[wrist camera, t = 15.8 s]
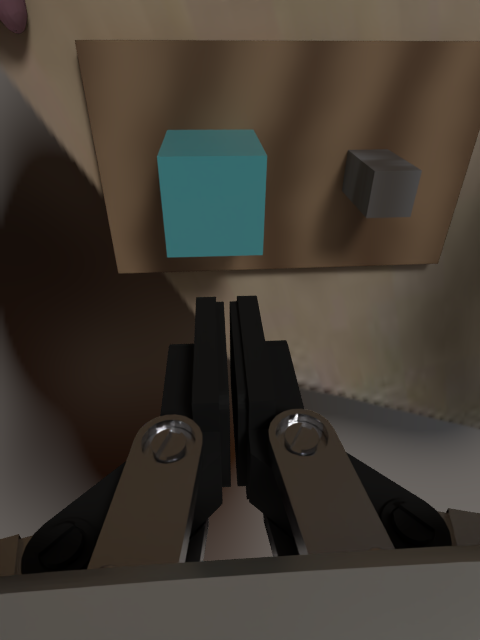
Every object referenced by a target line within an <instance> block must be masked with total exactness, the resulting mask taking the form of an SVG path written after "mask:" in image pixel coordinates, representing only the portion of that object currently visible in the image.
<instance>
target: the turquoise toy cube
mask: <svg viewBox="0 0 480 640" xmlns="http://www.w3.org/2000/svg"><path fill="white" fill-rule="evenodd" d="M157 162H158V172H159V182H160V191H161V201H162V211H163V221H164V230H165V240H166V250H167V257H207V256H247V255H263V240H264V217H265V194H266V171H267V154H266V152H265V151H264V149H263V147H262V145H261V143H260V141H259V139H258V137H257V135H256V133H255V132H254V130H167V132H166V134H165V137H164V140H163V142H162V145H161V147H160V150H159V153H158V155H157Z"/></svg>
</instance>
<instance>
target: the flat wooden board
mask: <svg viewBox="0 0 480 640" xmlns="http://www.w3.org/2000/svg"><path fill="white" fill-rule="evenodd" d="M75 44H76V49H77V54H78V60H79V65H80V70H81V76H82V81H83V87H84V92H85V97H86V103H87V108H88V113H89V119H90V124H91V129H92V135H93V140H94V145H95V151H96V156H97V161H98V167H99V172H100V177H101V183H102V188H103V193H104V199H105V204H106V209H107V214H108V220H109V225H110V230H111V236H112V241H113V247H114V252H115V257H116V263H117V268H118V273H150V272H182V271H214V270H246V269H278V268H310V267H343V266H375V265H407V264H438V262H439V259H440V255H441V252H442V249H443V246H444V242H445V239H446V236H447V233H448V230H449V226H450V223H451V220H452V217H453V213H454V210H455V207H456V204H457V201H458V197H459V194H460V191H461V188H462V184H463V181H464V178H465V175H466V172H467V168H468V165H469V162H470V159H471V155H472V152H473V149H474V146H475V142H476V139H477V136H478V133H479V130H480V41H196V40H75ZM167 130H254V132H255V133H256V135H257V137H258V139H259V141H260V143H261V145H262V147H263V149H264V151H265V152H266V154H267V171H266V194H265V217H264V240H263V255H247V256H207V257H167V250H166V240H165V230H164V221H163V211H162V201H161V191H160V182H159V172H158V162H157V155H158V153H159V150H160V147H161V145H162V142H163V140H164V137H165V134H166V132H167Z"/></svg>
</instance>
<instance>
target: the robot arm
mask: <svg viewBox="0 0 480 640" xmlns="http://www.w3.org/2000/svg"><path fill="white" fill-rule="evenodd" d="M230 369H231V391H232V392H231V393H232V408H233V424H234V438H235V453H236V469H237V484H238V486H246V494H247V499H249V502H250V503H251V504H252V505H254V506H255V507H256V508H257V509H259V510H260V511H261V512H262V513H263V518H264V524H265V528H266V531H267V535H268V539H269V543H270V546H271V550H272V554H273V557H262V558H246V559H232V560H216V561H203V559H204V552H205V546H206V539H207V533H208V526H209V519H208V518H209V517H210V516H211V515H212V514H213V513H214V512H215V511H216V510H217V509H218V508H219V507H220V506H221V504H222V487H231V474H230V412H229V411H230V410H229V388H228V370H227V352H226V335H225V317H224V302H216V297H197V298H196V316H195V340H194V344H172V345H170V346H169V351H168V359H167V367H166V375H165V383H164V391H163V399H162V408H161V415H160V417H157V418H154V419H153V420H151V421H149V422H147V423H146V424H145V425H144V426H143V427H142V428H141V429H140V430H139V432H138V433H137V435H136V437H135V439H134V442H133V445H132V447H131V450H130V453H129V455H128V458H127V461H126V462H124V463H123V464H122V465H120V466H119V467H118V468H117V469H115V470H114V471H113V472H111V473H110V474H109V475H107V476H106V477H105V478H103V479H102V480H101V481H100V482H98V483H97V484H96V485H94V486H93V487H92V488H90V489H89V490H88V491H87V492H85V493H84V494H83V495H81V496H80V497H79V498H78V499H76V500H75V501H74V502H72V503H71V504H70V505H68V506H67V507H66V508H65V509H63V510H62V511H61V512H59V513H58V514H57V515H56V516H54V517H53V518H52V519H50V520H49V521H48V522H46V523H45V524H44V525H43V526H42V527H41V528H40V529H39V530H38V531H37V532H36V533H35V534H34V535H33V536H29V537H25V538H22V539H21V537H20V535H19V534H18V535H14V536H11V537H7V538H3V539H0V640H480V513H474V512H467V511H461V510H456V509H450V508H448V510H447V511H446V513H444V512H438V511H436V510H435V509H434V508H433V507H431V506H430V505H429V504H428V503H426V502H425V501H424V500H422V499H420V498H419V497H417V496H416V495H414V494H412V493H411V492H409V491H407V490H406V489H404V488H403V487H401V486H400V485H398V484H396V483H395V482H393V481H391V480H390V479H388V478H387V477H385V476H383V475H382V474H380V473H379V472H377V471H375V470H374V469H372V468H371V467H369V466H367V465H366V464H364V463H363V462H361V461H359V460H358V459H356V458H355V457H353V456H351V455H350V454H348V453H347V452H345V450H344V448H343V446H342V444H341V442H340V440H339V438H338V436H337V434H336V432H335V430H334V428H333V427H332V425H331V424H330V423H329V421H328V420H327V419H325V418H324V417H323V416H321V415H320V414H318V413H315V412H313V411H310V410H305V409H304V406H303V403H302V399H301V395H300V391H299V387H298V383H297V379H296V375H295V371H294V367H293V363H292V359H291V355H290V351H289V347H288V344H287V341H286V340H281V341H265V338H264V333H263V327H262V322H261V316H260V311H259V306H258V300H257V296H237V301H232V302H230Z"/></svg>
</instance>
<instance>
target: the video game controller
mask: <svg viewBox="0 0 480 640" xmlns="http://www.w3.org/2000/svg"><path fill="white" fill-rule="evenodd" d="M0 20H1V21H2V23H3V24H4V25H5V26H6V27H7V28H8V29H9V30H11V31H12V32H14V33H18V34H20V33H22V32H23V31H24V30H25V27H26V23H27V10H26V3H25V0H0Z"/></svg>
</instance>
